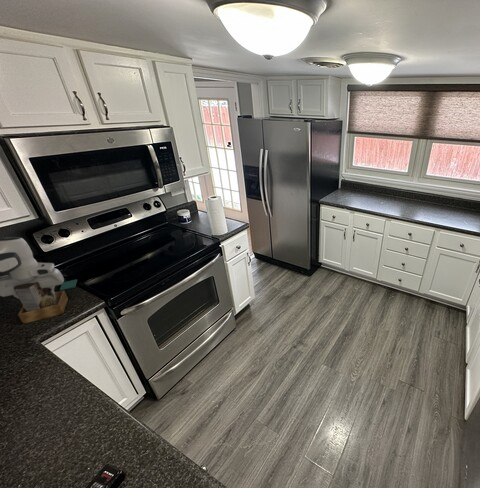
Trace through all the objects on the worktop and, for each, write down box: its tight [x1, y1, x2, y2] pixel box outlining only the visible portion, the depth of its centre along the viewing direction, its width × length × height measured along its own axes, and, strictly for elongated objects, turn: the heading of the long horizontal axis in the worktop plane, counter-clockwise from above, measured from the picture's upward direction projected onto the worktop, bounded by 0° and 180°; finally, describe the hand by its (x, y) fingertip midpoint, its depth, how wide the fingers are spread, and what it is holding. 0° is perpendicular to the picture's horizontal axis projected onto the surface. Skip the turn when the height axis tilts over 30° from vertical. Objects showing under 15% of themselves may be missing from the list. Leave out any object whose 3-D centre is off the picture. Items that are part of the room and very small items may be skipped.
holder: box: [17, 290, 69, 324], centre depth 122 cm, size 13×13×5 cm
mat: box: [59, 279, 78, 291], centre depth 141 cm, size 6×8×1 cm
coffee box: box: [14, 282, 59, 312], centre depth 119 cm, size 9×6×16 cm
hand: (38, 297), depth 120 cm, fingers closed on coffee box, 8 cm apart
